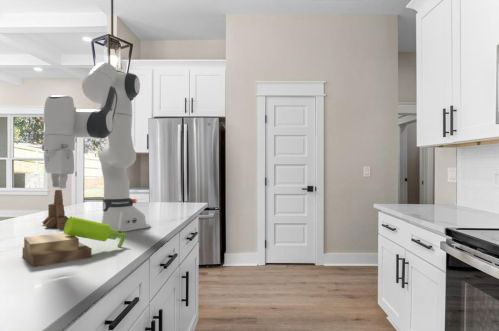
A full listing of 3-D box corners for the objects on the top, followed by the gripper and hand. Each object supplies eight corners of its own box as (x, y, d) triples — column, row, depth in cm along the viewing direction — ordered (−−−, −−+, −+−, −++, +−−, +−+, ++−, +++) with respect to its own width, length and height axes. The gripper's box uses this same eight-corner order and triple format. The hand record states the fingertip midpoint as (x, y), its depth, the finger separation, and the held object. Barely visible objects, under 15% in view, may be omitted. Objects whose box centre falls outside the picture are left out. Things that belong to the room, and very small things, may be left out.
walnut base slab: (75, 250, 121) (76, 240, 121) (91, 259, 109) (91, 248, 109) (22, 258, 110) (22, 247, 110) (33, 269, 98) (33, 257, 98)
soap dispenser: (66, 239, 108) (124, 249, 122) (74, 218, 110) (130, 230, 123) (61, 235, 113) (117, 245, 126) (68, 214, 114) (123, 227, 127)
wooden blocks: (77, 229, 159) (77, 190, 159) (46, 232, 152) (46, 191, 152) (67, 222, 179) (68, 188, 179) (40, 224, 172) (40, 188, 172)
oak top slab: (69, 242, 118) (69, 232, 118) (78, 249, 108) (78, 238, 108) (24, 248, 109) (24, 237, 109) (30, 256, 99) (30, 244, 99)
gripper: (80, 144, 105) (79, 189, 105) (61, 146, 120) (61, 186, 120) (57, 142, 100) (56, 190, 100) (40, 145, 115) (40, 186, 115)
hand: (59, 187), depth 110 cm, fingers open, 6 cm apart
